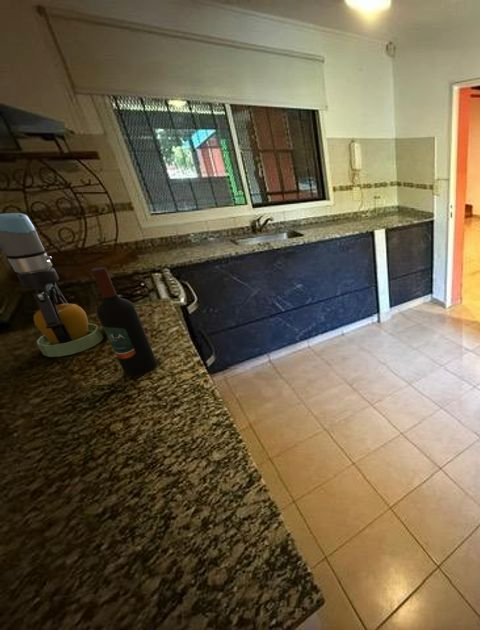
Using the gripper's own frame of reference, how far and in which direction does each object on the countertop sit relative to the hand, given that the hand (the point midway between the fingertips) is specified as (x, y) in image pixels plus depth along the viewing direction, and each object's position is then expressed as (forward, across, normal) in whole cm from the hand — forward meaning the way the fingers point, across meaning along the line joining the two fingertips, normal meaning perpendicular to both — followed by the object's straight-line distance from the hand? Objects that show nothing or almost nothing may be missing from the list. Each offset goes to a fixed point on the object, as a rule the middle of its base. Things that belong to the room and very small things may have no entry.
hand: (70, 337), depth 107 cm
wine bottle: (+4, -28, -17) cm, 33 cm away
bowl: (+3, 0, 0) cm, 3 cm away
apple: (+2, 0, 0) cm, 2 cm away
